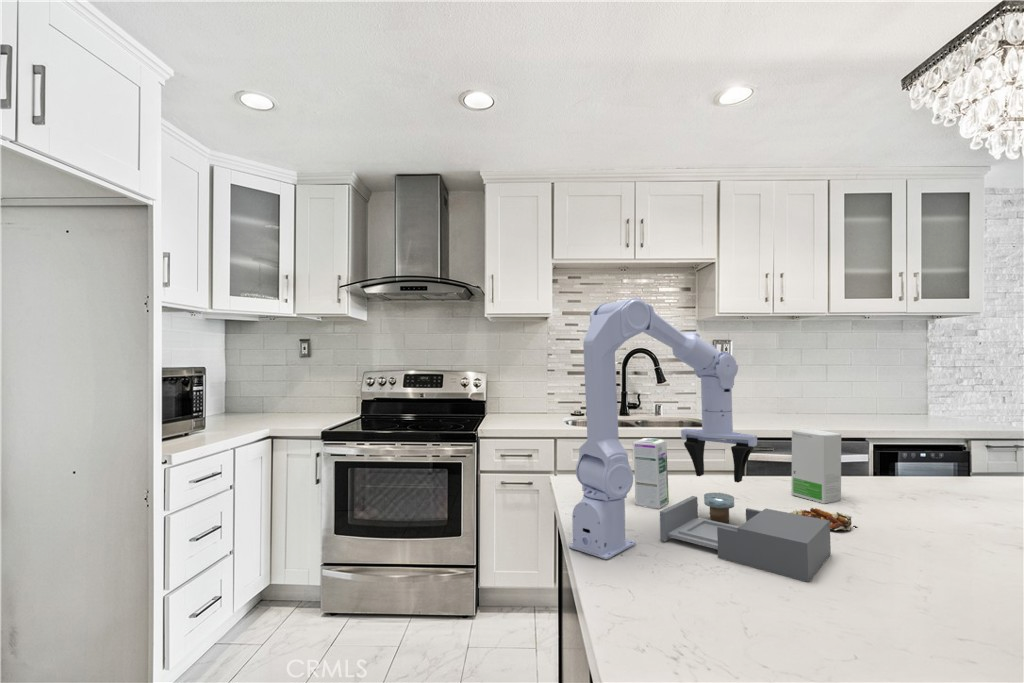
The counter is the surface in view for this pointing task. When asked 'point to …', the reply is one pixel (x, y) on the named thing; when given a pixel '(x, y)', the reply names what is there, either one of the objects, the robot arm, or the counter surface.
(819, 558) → the housing
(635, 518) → the counter surface
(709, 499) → the disc
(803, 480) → the skincare box
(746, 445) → the robot arm
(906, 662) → the counter surface
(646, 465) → the syrup box
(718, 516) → the stand
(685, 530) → the tray
